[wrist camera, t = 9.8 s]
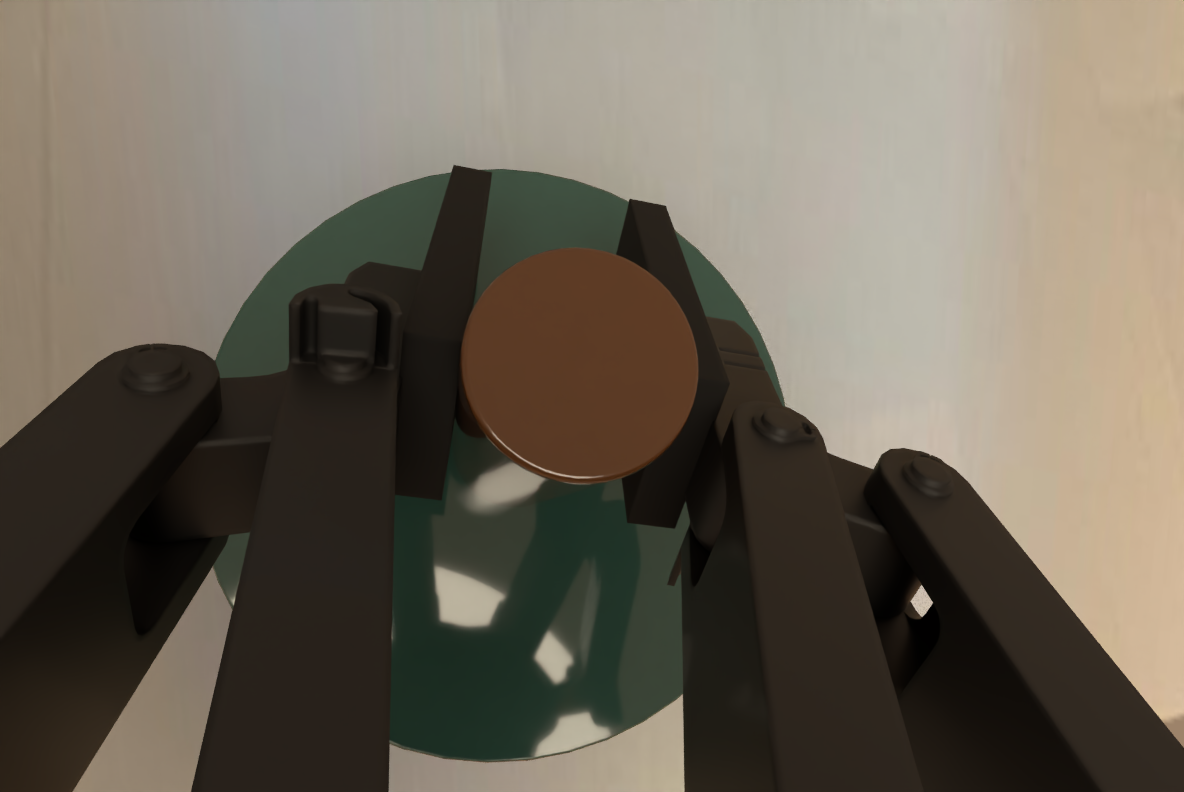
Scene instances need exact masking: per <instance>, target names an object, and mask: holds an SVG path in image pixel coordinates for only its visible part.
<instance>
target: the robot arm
mask: <svg viewBox="0 0 1184 792" xmlns="http://www.w3.org/2000/svg"><path fill="white" fill-rule="evenodd" d="M491 179H492V172H487V171H482V170H477V169H472V168H466V167H461V166H456V165H454V166H453V169H452V173H451V176H450V179H449V183H448V186H447V189H446V192H445V196H444V199H443V202H442V206H441V209H440V212H439V215H438V219H437V222H436V225H435V229H434V232H433V235H432V238H431V242H430V245H429V248H428V252H427V255H426V258H425V261H424V265H423V268H422V270H416V269H410V268H405V267H399V266H393V265H387V264H381V263H375V262H367V263H365V264H364V265H362V266H360V267H358V268H357V269H355V270H353V271H352V272H350V273H349V275H348V277H347V279H346V281H345V283H344V284H324V285H319V286H313V287H309V288H307V289H305V290H303V291H301V292H299V293H297V294H295V296H294V297H293V298H292V300H291V301H290V303H289V364H288V369H287V370H285V371H281V372H277V373H273V374H269V375H262V376H253V377H233V378H220V373H219V370H218V367H217V364H216V361H214V360H213V359H212V358H210V357H209V356H208V355H206V354H205V353H204V352H202V351H199V350H196V349H193V348H189V347H186V346H181V345H171V344H151V345H150V344H146V345H139V346H134V347H131V348H128V349H124V350H121V351H117V352H114V353H113V354H111V355H109V356H108V357H106V358H104V359H103V360H101V361H99V362H98V363H97V364H95V365H94V366H93V367H92V368H91V369H90V370H89V371H87V372H86V373H85V374H84V375H83V376H82V377H81V378H79V379H78V380H77V381H76V382H75V383H74V384H73V385H72V386H70V387H69V388H68V389H67V390H66V391H65V392H64V393H62V394H61V395H60V396H59V397H58V398H57V399H56V400H54V401H53V402H52V403H51V404H50V405H49V406H48V407H46V408H45V409H44V410H43V411H42V412H41V413H40V414H39V415H37V416H36V417H35V418H34V419H33V420H32V421H31V422H29V423H28V424H27V425H26V426H25V427H24V428H23V429H21V430H20V431H19V432H18V433H17V434H16V435H15V436H14V437H12V438H11V439H10V440H9V441H8V442H7V443H6V444H4V445H3V446H2V447H1V448H0V792H72V791H73V790H74V788H75V787H76V785H77V783H78V782H79V780H80V779H81V777H82V775H83V774H84V772H85V771H86V769H87V767H88V766H89V764H90V762H91V761H92V759H93V758H94V756H95V754H96V753H97V751H98V750H99V748H100V746H101V745H102V743H103V742H104V740H105V738H106V737H107V735H108V734H109V732H110V730H111V729H112V727H113V725H114V724H115V722H116V721H117V719H118V717H119V716H120V714H121V713H122V711H123V709H124V708H125V706H126V705H127V703H128V701H129V700H130V698H131V697H132V695H133V693H134V692H135V690H136V689H137V687H138V685H139V684H140V682H141V680H142V679H143V677H144V676H145V674H146V672H147V671H148V669H149V668H150V666H151V664H152V663H153V661H154V660H155V658H156V656H157V655H158V653H159V652H160V650H161V648H162V647H163V645H164V644H165V642H166V640H167V639H168V637H169V635H170V634H171V632H172V631H173V629H174V627H175V626H176V624H177V623H178V621H179V619H180V618H181V616H182V615H183V613H184V611H185V610H186V608H187V607H188V605H189V603H190V602H191V600H192V599H193V597H194V595H195V594H196V592H197V590H198V589H199V587H200V586H201V584H202V582H203V581H204V579H205V578H206V576H207V574H208V573H209V571H210V570H211V568H212V566H213V565H214V563H215V562H216V560H217V558H218V557H219V555H220V554H221V552H222V550H223V549H224V547H225V545H226V543H227V540H228V537H229V535H233V534H241V533H249V532H250V535H249V540H248V544H247V549H246V553H245V557H244V562H243V566H242V571H241V575H240V579H239V584H238V588H237V593H236V597H235V601H234V606H233V610H232V614H231V619H230V623H229V628H228V632H227V636H226V641H225V645H224V650H223V654H222V658H221V663H220V667H219V672H218V676H217V680H216V685H215V689H214V693H213V698H212V702H211V707H210V711H209V715H208V720H207V724H206V729H205V733H204V737H203V742H202V746H201V751H200V755H199V759H198V764H197V768H196V772H195V777H194V781H193V786H192V790H191V792H388V790H389V743H390V697H391V650H392V603H393V557H394V510H395V495H400V496H408V497H417V498H425V499H433V500H441V501H442V495H443V489H444V483H445V477H446V471H447V464H448V458H449V452H450V446H451V440H452V434H453V427H454V421H455V414H456V402H457V390H458V373H459V360H460V348H461V343H462V337H463V332H464V329H465V326H466V323H467V320H468V317H469V315H470V313H471V311H472V309H473V304H474V297H475V291H476V284H477V277H478V270H479V263H480V256H481V249H482V242H483V235H484V228H485V221H486V214H487V207H488V200H489V193H490V186H491ZM616 255H618V256H621V257H623V258H626V259H628V260H630V261H632V262H634V263H636V264H637V265H639V266H640V267H642V268H644V269H645V270H647V271H648V272H649V273H650V274H652V275H653V276H654V277H655V278H657V279H658V280H659V281H660V282H661V283H662V284H663V285H664V286H665V287H666V288H667V289H668V290H669V291H670V293H671V294H672V296H673V297H674V298H675V300H676V301H677V302H678V304H679V305H680V307H681V309H682V311H683V312H684V314H685V316H686V318H687V320H688V323H689V325H690V327H691V330H692V333H693V336H694V340H695V344H696V348H697V355H698V370H699V377H698V386H697V393H696V397H695V401H694V405H693V408H692V410H691V413H690V415H689V418H688V420H687V422H686V424H685V426H684V427H683V429H682V431H681V433H680V434H679V435H678V437H677V438H676V439H675V441H674V442H673V444H672V445H671V446H670V447H669V448H668V449H667V450H666V451H665V452H664V453H663V454H662V455H661V456H660V457H658V458H657V459H656V460H655V461H653V462H652V463H651V464H649V465H648V466H646V467H645V468H643V469H641V470H639V471H638V472H636V473H634V474H631V475H629V476H626V477H624V478H622V486H623V494H624V502H625V509H626V517H627V523H632V524H640V525H648V526H656V527H665V528H673V529H675V527H676V525H677V522H678V519H679V517H680V514H681V512H682V509H683V506H684V504H685V501H686V505H687V509H688V514H689V518H690V525H689V527H688V530H687V532H686V535H685V537H684V540H683V542H682V545H681V548H680V550H679V553H678V555H677V558H676V560H675V563H674V565H673V568H672V570H671V573H670V576H669V580H668V583H667V585H670V586H675V583H676V581H677V578H678V576H679V575H680V574H681V591H682V654H683V718H684V782H685V792H1184V748H1183V746H1182V745H1181V744H1180V743H1179V741H1178V740H1177V739H1176V738H1175V737H1174V736H1173V734H1172V733H1171V732H1170V730H1169V729H1168V728H1167V727H1166V725H1165V724H1164V723H1163V722H1162V721H1161V719H1160V718H1159V717H1158V716H1157V714H1156V713H1155V712H1154V711H1153V709H1152V708H1151V707H1150V706H1149V704H1148V703H1147V702H1146V701H1145V700H1144V698H1143V697H1142V696H1141V695H1140V693H1139V692H1138V691H1137V690H1136V688H1135V687H1134V686H1133V685H1132V684H1131V682H1130V681H1129V680H1128V679H1127V677H1126V676H1125V675H1124V674H1123V672H1122V671H1121V670H1120V669H1119V668H1118V666H1117V665H1116V664H1115V663H1114V661H1113V660H1112V659H1111V658H1110V656H1109V655H1108V654H1107V653H1106V651H1105V650H1104V649H1103V648H1102V647H1101V645H1100V644H1099V643H1098V642H1097V640H1096V639H1095V638H1094V637H1093V635H1092V634H1091V633H1090V632H1089V631H1088V629H1087V628H1086V627H1085V626H1084V624H1083V623H1082V622H1081V621H1080V619H1079V618H1078V617H1077V616H1076V615H1075V613H1074V612H1073V611H1072V610H1071V608H1070V607H1069V606H1068V605H1067V603H1066V602H1065V601H1064V600H1063V598H1062V597H1061V596H1060V595H1059V594H1058V592H1057V591H1056V590H1055V589H1054V587H1053V586H1052V585H1051V584H1050V582H1049V581H1048V580H1047V579H1046V578H1045V576H1044V575H1043V574H1042V573H1041V571H1040V570H1039V569H1038V568H1037V566H1036V565H1035V564H1034V563H1033V561H1032V560H1031V559H1030V558H1029V557H1028V555H1027V554H1026V553H1025V552H1024V550H1023V549H1022V548H1021V547H1020V545H1019V544H1018V543H1017V542H1016V541H1015V539H1014V538H1013V537H1012V536H1011V534H1010V533H1009V532H1008V531H1007V529H1006V528H1005V527H1004V526H1003V525H1002V523H1001V522H1000V521H999V520H998V518H997V517H996V516H995V515H994V513H993V512H992V511H991V510H990V508H989V507H988V506H987V505H986V504H985V502H984V501H983V500H982V499H981V497H980V496H979V495H978V494H977V492H976V491H975V490H974V489H973V488H972V486H971V485H970V484H969V483H968V481H966V480H965V479H964V478H963V477H962V476H961V475H960V474H959V473H958V472H957V471H956V470H955V469H953V468H952V467H950V466H949V465H947V464H945V463H944V462H943V461H942V460H941V459H939V458H937V457H935V456H933V455H931V456H930V455H929V454H928V453H924V452H921V451H915V450H910V449H905V448H901V449H890V450H888V451H887V452H885V453H883V454H882V455H881V457H880V459H879V460H878V462H877V464H876V466H875V468H874V470H873V469H870V468H867V467H865V466H862V465H859V464H856V463H853V462H850V461H847V460H845V459H842V458H839V457H836V456H834V455H832V454H829V453H827V450H826V447H825V443H824V440H823V438H822V436H821V434H820V432H819V430H818V429H817V427H816V426H815V425H813V424H812V423H811V422H810V421H809V420H808V419H807V418H806V417H804V416H803V415H801V414H799V413H797V412H795V411H794V410H792V409H790V408H787V407H785V406H782V404H781V401H780V399H779V397H778V395H777V392H776V390H775V388H774V386H773V383H772V381H771V379H770V377H769V374H768V372H767V371H765V365H764V363H763V361H762V359H761V357H759V352H758V350H757V347H756V345H755V343H754V341H753V338H752V337H751V336H750V335H749V334H748V333H747V332H746V331H745V330H744V329H742V328H741V327H740V326H739V325H738V324H737V323H736V322H735V321H730V320H725V319H719V318H713V317H707V316H705V313H704V310H703V308H702V305H701V302H700V299H699V296H698V294H697V291H696V288H695V285H694V283H693V280H692V277H691V274H690V272H689V269H688V266H687V263H686V261H685V258H684V255H683V252H682V250H681V247H680V244H679V241H678V239H677V236H676V233H675V230H674V228H673V225H672V222H671V219H670V217H669V214H668V211H667V208H666V206H664V205H658V204H653V203H648V202H643V201H638V200H632V199H630V200H629V204H628V208H627V212H626V216H625V220H624V224H623V228H622V232H621V236H620V240H619V244H618V248H617V252H616ZM921 585H922V586H923V587H924V589H925V591H926V592H927V594H928V595H929V597H930V598H931V600H932V602H933V604H932V606H931V607H930V608H929V610H928V611H927V613H926V614H925V615H924V616H923V617H921V616H920V615H919V614H918V612H917V611H916V610H915V608H914V607H913V605H912V603H911V602H910V601H911V600H912V598H913V597H914V595H915V594H916V592H917V591H918V589H919V588H920V586H921Z"/></svg>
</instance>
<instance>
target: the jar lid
mask: <svg viewBox="0 0 1184 792" xmlns="http://www.w3.org/2000/svg"><path fill="white" fill-rule="evenodd" d="M482 171H487V172H492V179H491V186H490V193H489V200H488V207H487V214H486V221H485V228H484V235H483V242H482V249H481V256H480V263H479V270H478V277H477V284H476V291H475V297H474V304H473V309H472V311H471V313H470V315H469V317H468V320H467V323H466V326H465V329H464V332H463V337H462V343H461V348H460V360H459V373H458V390H457V402H456V414H455V421H454V427H453V434H452V440H451V446H450V452H449V458H448V464H447V471H446V477H445V483H444V489H443V495H442V501H441V500H433V499H425V498H417V497H408V496H400V495H395V510H394V557H393V603H392V650H391V697H390V743H389V744H391V745H394V746H396V747H399V748H402V749H405V750H409V751H413V752H417V753H422V754H426V755H430V756H435V757H439V758H443V759H452V760H463V761H474V762H485V763H489V762H509V761H528V760H534V759H539V758H544V757H549V756H555V755H560V754H565V753H570V752H573V751H575V750H578V749H581V748H584V747H587V746H590V745H593V744H596V743H599V742H602V741H605V740H608V739H610V738H612V737H614V736H616V735H618V734H620V733H622V732H624V731H626V730H628V729H630V728H632V727H634V726H636V725H638V724H640V723H642V722H644V721H645V720H647V719H648V718H650V717H651V716H653V715H654V714H656V713H657V712H659V711H660V710H662V709H663V708H665V707H666V706H668V705H669V704H671V703H672V702H674V701H675V700H676V699H678V698H679V697H680V696H681V695H682V694H683V654H682V591H681V574H680V575H679V576H678V578H677V581H676V583H675V586H670V585H667V583H668V580H669V576H670V573H671V570H672V568H673V565H674V563H675V560H676V558H677V555H678V553H679V550H680V548H681V545H682V542H683V540H684V537H685V535H686V532H687V530H688V527H689V525H690V518H689V514H688V509H687V505H686V501H685V504H684V506H683V509H682V512H681V514H680V517H679V519H678V522H677V525H676V527H675V529H673V528H665V527H656V526H648V525H640V524H632V523H627V517H626V509H625V502H624V494H623V486H622V478H624V477H626V476H629V475H631V474H634V473H636V472H638V471H639V470H641V469H643V468H645V467H646V466H648V465H649V464H651V463H652V462H653V461H655V460H656V459H657V458H658V457H660V456H661V455H662V454H663V453H664V452H665V451H666V450H667V449H668V448H669V447H670V446H671V445H672V444H673V442H674V441H675V439H676V438H677V437H678V435H679V434H680V433H681V431H682V429H683V427H684V426H685V424H686V422H687V420H688V418H689V415H690V413H691V410H692V408H693V405H694V401H695V397H696V393H697V386H698V377H699V370H698V355H697V348H696V344H695V340H694V336H693V333H692V330H691V327H690V325H689V323H688V320H687V318H686V316H685V314H684V312H683V311H682V309H681V307H680V305H679V304H678V302H677V301H676V300H675V298H674V297H673V296H672V294H671V293H670V291H669V290H668V289H667V288H666V287H665V286H664V285H663V284H662V283H661V282H660V281H659V280H658V279H657V278H655V277H654V276H653V275H652V274H650V273H649V272H648V271H647V270H645V269H644V268H642V267H640V266H639V265H637V264H636V263H634V262H632V261H630V260H628V259H626V258H623V257H621V256H618V255H616V252H617V248H618V244H619V240H620V236H621V232H622V228H623V224H624V220H625V216H626V212H627V208H628V204H629V202H628V201H626V200H624V199H622V198H620V197H618V196H616V195H614V194H612V193H610V192H607V191H604V190H602V189H599V188H596V187H593V186H590V185H587V184H584V183H581V182H578V181H575V180H572V179H567V178H562V177H558V176H553V175H548V174H544V173H539V172H528V171H517V170H506V169H494V170H482ZM450 176H451V173H446V174H439V175H433V176H428V177H424V178H421V179H417V180H414V181H410V182H407V183H403V184H400V185H396V186H393V187H391V188H388V189H386V190H384V191H381V192H379V193H377V194H374V195H372V196H370V197H367V198H365V199H363V200H360V201H358V202H357V203H355V204H353V205H351V206H350V207H348V208H346V209H345V210H343V211H341V212H339V213H338V214H336V215H334V216H333V217H331V218H329V219H328V220H326V221H325V222H323V223H322V224H321V225H319V226H318V227H317V228H315V229H314V230H313V231H312V232H310V233H309V234H308V235H306V236H305V237H304V238H303V239H301V240H300V241H299V242H297V243H296V244H295V245H294V246H293V247H292V248H291V249H290V250H289V251H288V252H287V253H286V254H285V255H284V256H283V257H282V258H281V259H280V260H279V261H278V262H277V263H276V264H275V265H274V266H273V267H272V268H271V269H270V270H269V271H268V272H267V273H266V275H265V276H264V277H263V279H262V280H261V281H260V283H259V284H258V285H257V287H256V288H255V289H254V291H253V292H252V293H251V295H250V296H249V297H248V299H247V300H246V301H245V303H244V304H243V305H242V307H241V309H240V311H239V313H238V314H237V316H236V318H235V320H234V321H233V323H232V325H231V327H230V329H229V330H228V332H227V334H226V336H225V337H224V339H223V342H222V344H221V347H220V349H219V352H218V354H217V357H216V359H215V361H216V364H217V367H218V370H219V373H220V378H233V377H253V376H262V375H269V374H273V373H277V372H281V371H285V370H287V369H288V364H289V303H290V301H291V300H292V298H293V297H294V296H295V294H297V293H299V292H301V291H303V290H305V289H307V288H309V287H313V286H319V285H324V284H344V283H345V281H346V279H347V277H348V275H349V273H350V272H352V271H353V270H355V269H357V268H358V267H360V266H362V265H364V264H365V263H367V262H375V263H381V264H387V265H393V266H399V267H405V268H410V269H416V270H422V268H423V265H424V261H425V258H426V255H427V252H428V248H429V245H430V242H431V238H432V235H433V232H434V229H435V225H436V222H437V219H438V215H439V212H440V209H441V206H442V202H443V199H444V196H445V192H446V189H447V186H448V183H449V179H450ZM675 233H676V236H677V239H678V241H679V244H680V247H681V250H682V252H683V255H684V258H685V261H686V263H687V266H688V269H689V272H690V274H691V277H692V280H693V283H694V285H695V288H696V291H697V294H698V296H699V299H700V302H701V305H702V308H703V310H704V313H705V316H707V317H713V318H719V319H725V320H730V321H735V322H736V323H737V324H738V325H739V326H740V327H741V328H742V329H744V330H745V331H746V332H747V333H748V334H749V335H750V336H751V337H752V338H753V341H754V343H755V345H756V347H757V350H758V352H759V357H761V359H762V361H763V363H764V365H765V371H767V372H768V374H769V377H770V379H771V381H772V383H773V386H774V388H775V390H776V392H777V395H778V397H779V399H780V401H781V404H782V406H785V402H784V398H783V394H782V391H781V388H780V384H779V381H778V377H777V374H776V370H775V367H774V364H773V362H772V360H771V357H770V355H769V353H768V350H767V348H766V345H765V343H764V341H763V338H762V336H761V334H760V332H759V330H758V328H757V327H756V325H755V323H754V321H753V320H752V318H751V316H750V315H749V313H748V311H747V309H746V308H745V306H744V304H743V302H742V301H741V300H740V298H739V297H738V296H737V294H736V293H735V292H734V290H733V289H732V288H731V286H730V285H729V284H728V282H727V281H726V280H725V278H724V277H723V276H722V274H721V273H720V272H719V271H718V270H717V269H716V268H715V267H714V266H713V265H712V264H711V263H710V262H709V261H708V260H707V259H706V258H705V257H704V256H703V255H702V253H701V252H700V251H699V250H698V249H697V248H695V247H694V246H693V245H692V244H691V243H689V242H688V241H687V240H686V239H685V238H683V237H682V236H681V235H680V234H678V233H677V232H676V231H675ZM249 535H250V532H249V533H241V534H233V535H229V537H228V540H227V543H226V545H225V547H224V549H223V550H222V552H221V554H220V555H219V557H218V558H217V560H216V562H215V563H214V565H213V568H214V571H215V574H216V577H217V580H218V583H219V585H220V587H221V589H222V591H223V593H224V594H225V596H226V598H227V600H228V602H229V604H230V606H231V608H232V610H233V606H234V601H235V597H236V593H237V588H238V584H239V579H240V575H241V571H242V566H243V562H244V557H245V553H246V549H247V544H248V540H249Z"/></svg>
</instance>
